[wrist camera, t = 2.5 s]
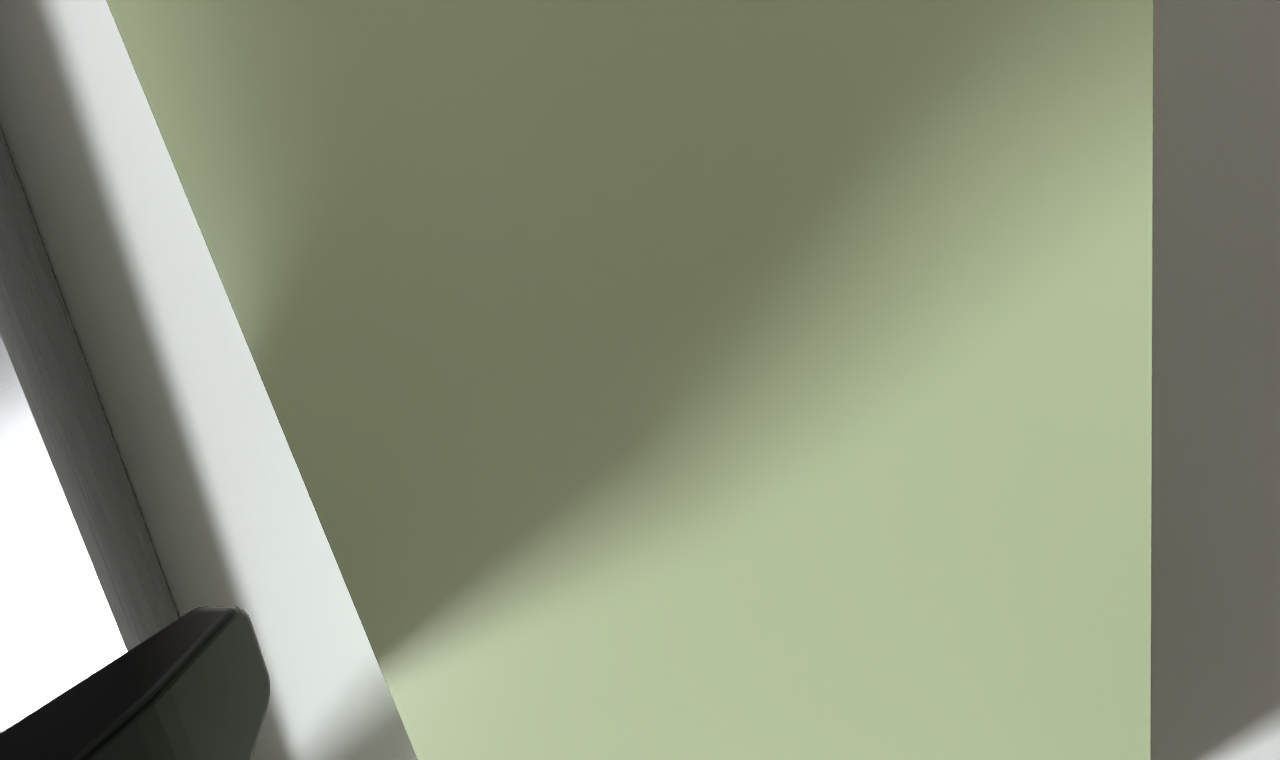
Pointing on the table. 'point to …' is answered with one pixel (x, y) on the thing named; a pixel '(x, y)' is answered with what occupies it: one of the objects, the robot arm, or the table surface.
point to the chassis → (59, 493)
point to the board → (702, 357)
